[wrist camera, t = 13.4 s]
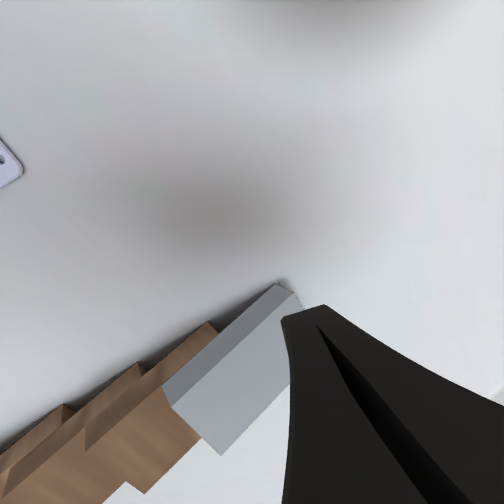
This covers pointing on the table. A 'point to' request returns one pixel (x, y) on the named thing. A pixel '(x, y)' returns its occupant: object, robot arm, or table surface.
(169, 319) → the table surface
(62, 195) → the table surface
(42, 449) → the domino
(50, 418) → the domino
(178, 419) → the domino
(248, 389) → the domino
